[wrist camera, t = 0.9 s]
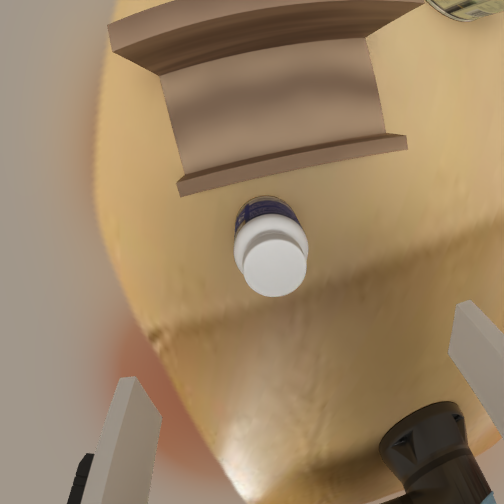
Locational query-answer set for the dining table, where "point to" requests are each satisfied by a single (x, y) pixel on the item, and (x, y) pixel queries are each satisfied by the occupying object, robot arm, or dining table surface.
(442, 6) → the coffee can
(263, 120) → the wooden display stand
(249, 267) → the pill bottle
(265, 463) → the dining table surface
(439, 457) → the robot arm
